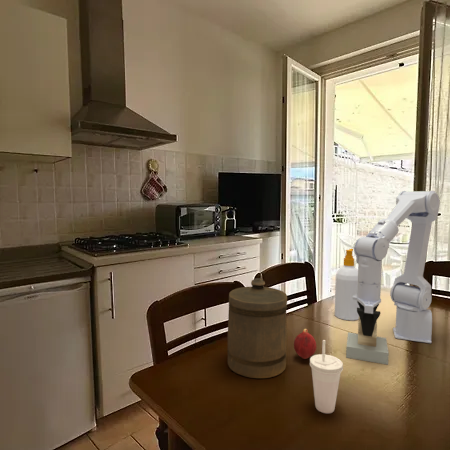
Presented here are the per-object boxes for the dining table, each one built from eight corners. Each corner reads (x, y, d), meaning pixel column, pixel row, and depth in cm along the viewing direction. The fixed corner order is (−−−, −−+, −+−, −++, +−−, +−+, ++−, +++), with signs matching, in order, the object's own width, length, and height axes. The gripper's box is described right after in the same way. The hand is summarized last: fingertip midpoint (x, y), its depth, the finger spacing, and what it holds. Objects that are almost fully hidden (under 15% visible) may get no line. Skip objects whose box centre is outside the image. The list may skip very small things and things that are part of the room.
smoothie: (304, 398, 71) (305, 334, 69) (333, 397, 71) (335, 333, 70) (315, 418, 64) (316, 348, 63) (347, 416, 65) (349, 346, 64)
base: (385, 348, 94) (386, 337, 94) (388, 364, 85) (388, 353, 85) (347, 342, 98) (348, 332, 98) (346, 357, 89) (346, 346, 88)
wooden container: (290, 355, 90) (291, 274, 88) (280, 384, 76) (282, 289, 74) (237, 347, 95) (237, 270, 93) (219, 372, 81) (219, 283, 79)
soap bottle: (362, 314, 121) (365, 249, 119) (357, 322, 113) (359, 252, 111) (338, 310, 126) (340, 247, 124) (331, 317, 118) (333, 250, 116)
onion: (316, 365, 84) (317, 334, 84) (293, 363, 86) (294, 333, 85) (315, 354, 90) (316, 326, 89) (293, 352, 91) (294, 324, 91)
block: (375, 340, 92) (376, 318, 92) (376, 346, 88) (377, 324, 88) (357, 337, 94) (358, 316, 94) (357, 344, 90) (358, 322, 89)
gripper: (353, 274, 98) (352, 319, 99) (352, 286, 85) (350, 339, 86) (380, 276, 95) (378, 323, 96) (383, 289, 82) (381, 343, 83)
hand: (367, 331), depth 91 cm, fingers open, 6 cm apart
